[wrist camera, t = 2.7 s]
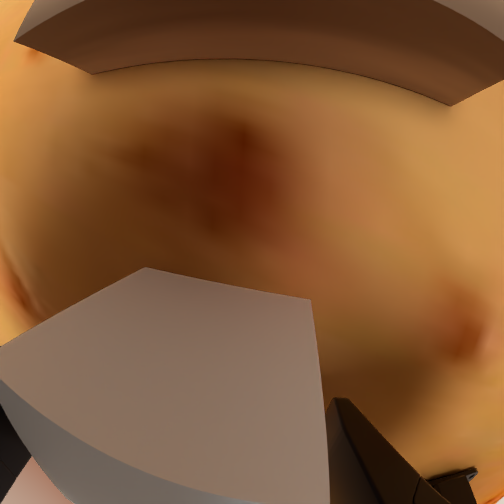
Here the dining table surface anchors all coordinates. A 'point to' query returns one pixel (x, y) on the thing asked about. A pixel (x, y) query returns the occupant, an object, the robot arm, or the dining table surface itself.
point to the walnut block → (285, 37)
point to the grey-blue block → (173, 395)
